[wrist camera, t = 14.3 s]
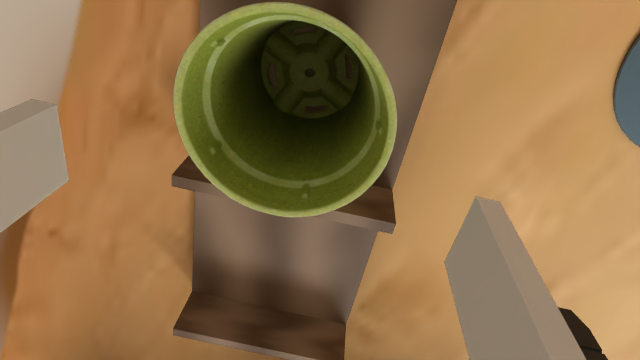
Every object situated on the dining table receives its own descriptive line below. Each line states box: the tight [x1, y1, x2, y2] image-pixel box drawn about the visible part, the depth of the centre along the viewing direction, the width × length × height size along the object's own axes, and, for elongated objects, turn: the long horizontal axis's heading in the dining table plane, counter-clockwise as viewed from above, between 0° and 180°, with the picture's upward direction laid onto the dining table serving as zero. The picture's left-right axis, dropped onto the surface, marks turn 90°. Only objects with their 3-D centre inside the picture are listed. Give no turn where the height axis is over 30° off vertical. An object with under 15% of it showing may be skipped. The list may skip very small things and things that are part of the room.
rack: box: [172, 0, 457, 360], centre depth 26 cm, size 14×30×5 cm, turn 169°
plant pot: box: [173, 2, 397, 217], centre depth 20 cm, size 9×9×9 cm
